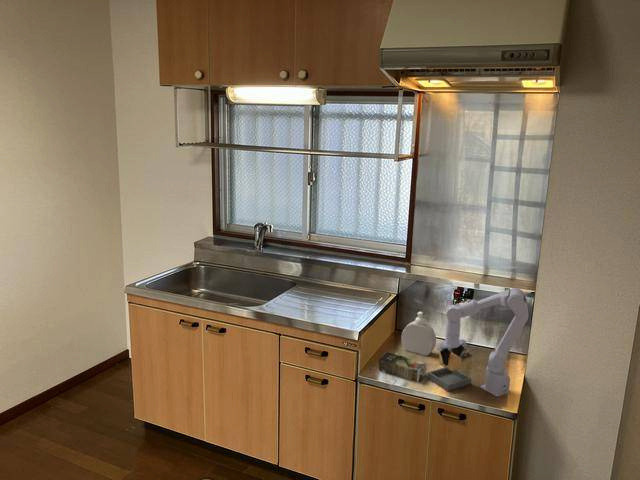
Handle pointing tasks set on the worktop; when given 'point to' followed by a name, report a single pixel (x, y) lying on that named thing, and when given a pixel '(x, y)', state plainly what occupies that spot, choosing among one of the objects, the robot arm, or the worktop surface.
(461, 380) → the charcoal bin
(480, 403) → the worktop surface
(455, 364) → the orange crate
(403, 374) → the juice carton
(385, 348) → the worktop surface
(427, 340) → the soap bottle
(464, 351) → the egg carton
